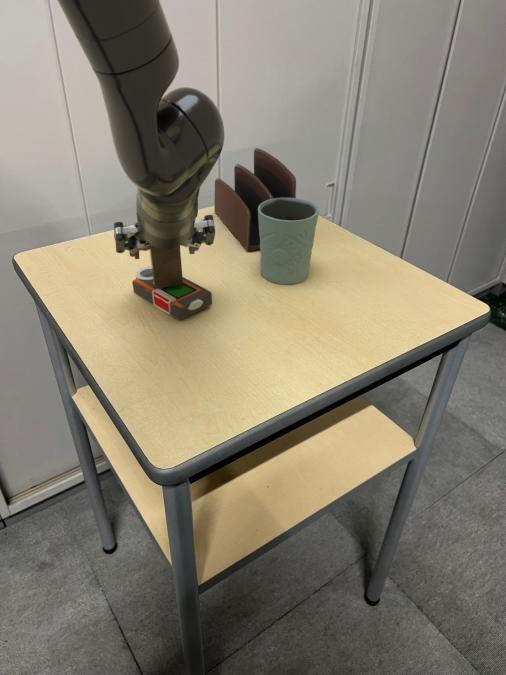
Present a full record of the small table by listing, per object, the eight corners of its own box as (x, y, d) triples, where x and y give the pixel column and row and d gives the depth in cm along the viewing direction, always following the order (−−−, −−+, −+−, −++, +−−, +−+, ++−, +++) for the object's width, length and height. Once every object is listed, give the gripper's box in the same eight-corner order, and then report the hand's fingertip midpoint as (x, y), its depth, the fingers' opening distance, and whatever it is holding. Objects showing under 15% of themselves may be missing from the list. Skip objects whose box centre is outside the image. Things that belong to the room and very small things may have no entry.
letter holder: (256, 206, 116) (258, 142, 107) (294, 244, 101) (300, 173, 92) (213, 212, 112) (212, 146, 104) (247, 252, 98) (248, 179, 89)
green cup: (273, 291, 87) (277, 225, 79) (245, 265, 94) (246, 202, 87) (323, 278, 91) (331, 213, 83) (293, 254, 98) (297, 192, 91)
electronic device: (156, 260, 89) (212, 290, 80) (158, 276, 91) (213, 307, 82) (122, 274, 85) (178, 307, 77) (125, 289, 87) (180, 323, 78)
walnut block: (155, 288, 81) (149, 239, 77) (152, 277, 84) (147, 230, 80) (183, 285, 82) (179, 236, 78) (179, 274, 85) (175, 227, 81)
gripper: (217, 178, 67) (205, 224, 83) (105, 185, 64) (114, 231, 80) (226, 233, 66) (212, 269, 82) (112, 243, 63) (120, 278, 79)
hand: (163, 250), depth 81 cm, fingers open, 8 cm apart
